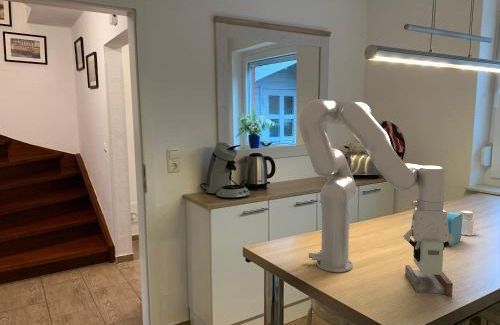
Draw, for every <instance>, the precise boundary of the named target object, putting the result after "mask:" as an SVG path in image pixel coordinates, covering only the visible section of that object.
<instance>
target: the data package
mask: <svg viewBox="0 0 500 325" xmlns="http://www.w3.org/2000/svg"><path fill="white" fill-rule="evenodd" d="M447 219H448V232H449V233H450V234H451V235H452V236H453V237H454V241H452V242H451V243H449V245H448V246H447V247H453V246H455V245H456V244H457V243H458V242H459V243H460V241H461V239H462V234H461V231H462V214H461V212H460V213H459V212H454V211H450V212H447ZM445 236H446V235H445Z"/></svg>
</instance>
